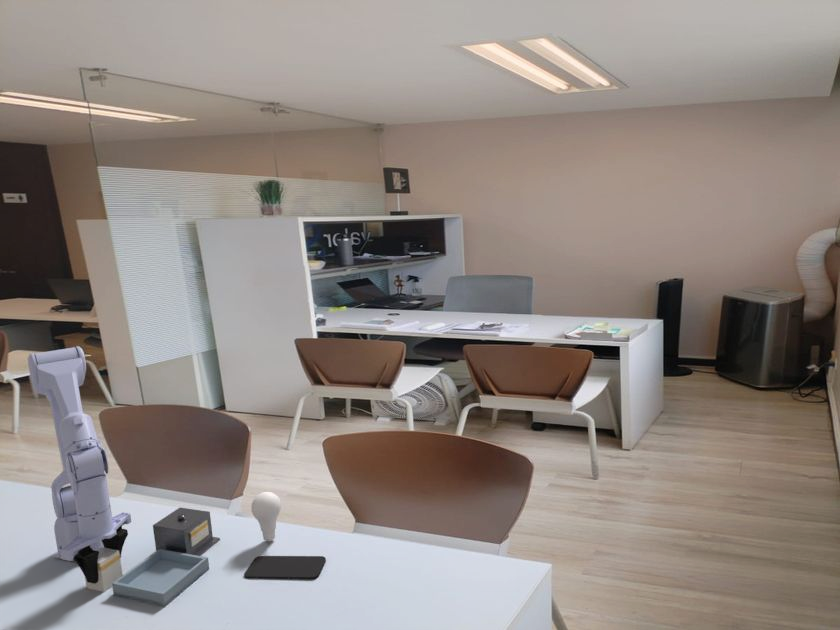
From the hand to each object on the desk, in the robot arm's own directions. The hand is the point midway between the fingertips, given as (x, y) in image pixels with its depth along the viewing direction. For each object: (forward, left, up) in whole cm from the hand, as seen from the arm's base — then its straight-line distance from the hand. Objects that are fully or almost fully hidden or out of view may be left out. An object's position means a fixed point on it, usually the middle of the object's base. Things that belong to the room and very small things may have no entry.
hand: (103, 574), depth 119 cm
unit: (+7, +15, -2) cm, 16 cm away
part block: (0, 0, -2) cm, 2 cm away
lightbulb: (+23, +22, -2) cm, 32 cm away
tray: (+11, +4, -2) cm, 12 cm away
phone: (+32, +14, -2) cm, 35 cm away
